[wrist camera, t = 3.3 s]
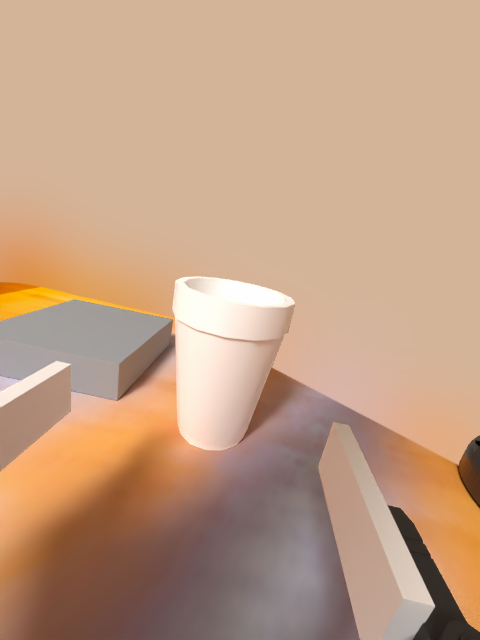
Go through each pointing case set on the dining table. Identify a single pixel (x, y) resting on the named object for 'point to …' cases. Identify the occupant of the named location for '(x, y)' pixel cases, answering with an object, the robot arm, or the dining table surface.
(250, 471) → the dining table surface
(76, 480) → the dining table surface
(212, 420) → the foam cup
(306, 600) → the dining table surface
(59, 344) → the slate plinth
